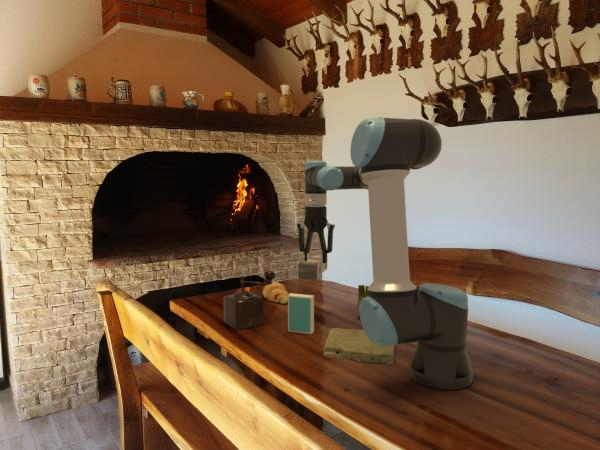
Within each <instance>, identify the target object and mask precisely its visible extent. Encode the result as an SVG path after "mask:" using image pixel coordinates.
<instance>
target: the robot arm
mask: <svg viewBox="0 0 600 450" xmlns="http://www.w3.org/2000/svg"><path fill="white" fill-rule="evenodd" d="M442 142H443V141H442V137H441V134H440V132H439V130H438V129H437V128H436V127H435V126H434V125H433V124H432V123H431V122H429V121H426V120H424V119H419V118H418V119H417V118H395V117H394V118H393V117H384V116H383V117H381V116H380V117H373V118H372V117H368V118H365V119H363V120H361V121H360V122H359V124H358V125H357V126H356V128H355V130H354V133H353V134H352V138H351V142H350V151H349V152H350V160H351V161H352V162H351V163H352V164H353V165H352V166H333V165H327V164H328V163H327V162H326V160H307V161H305V163H304V171H303V172H304V204H305V207H304V220H303V222H299V223H297V224H296V227H297V230H298V245H299V246H298V248H299V251H300V252H302V253H304V262H306V261H307V260H309V259H310V258H312V257H313V256H312V255H313V254H312V252H311V247H312V246H311V245H312V240H313V236H314V233H317V236H318V239H319V244H320V250H321V253H320V254H319V255H320V273H321V274H323V273H324V272H325V271H324V263H326V262H327V263H328V254H330V253H332V251H333V243H334V241H333V240H334V239H333V238H334V231H335V230H334V229H335V228H336V224H334V223H330V222H329V221H328V219H327V215H328V214H327V213H328V212H327V211H328V210H327V206H326V205H328V204H327V198H328V197H327V193H328V192H329V191H336V190H337V191H340V190H368V192H367V193H368V207H369V209H368V211H369V226H370V243H371V245H370V246H371V262H372V264H371V265H372V280H373V281H372V283H371V284H370V285H368V286H369V287H368V297H365V298H364V299H362V300H361V302H360V306H359V314H360V318H359V319H360V322H361V326H362V330H364V331H365V333H366V335H367V337H368V338H369V339H370V340H371V342H373V343H374V344H375V345H378V346H389V345H391V346H395V347H396V346H397V345H403V344H411V343H417V345H416V347H415V350H414V353H413V355H412V358H411V361H410V364H409V375H410V376H411V377H410V378H412V379H413V380H414V381H415V382H417V383H418V384H420V385H422V386H425V387H428V388H431V389H436V390H443V391H454V390H455V391H457V390H461V389H465V388H468V387H469V386H470V385H472V384H473V378H474V376H473V374H474V373H473V372H474V371H473V368H472V365H471V361H470V358H469V354H468V351H467V337H468V331H467V330H468V317H469V316H468V315H469V310H470V309H469V302H468V301H469V298H468V294H467V293H466V292H465V291H463V290H462V289H460V288H456V287H453V286H450V285H447V284H440V283H430V282H429V283H426V282H425V283H422V284H420V285H419V288H418V287H417V286H416V285H415V284H414V283H413V282H412V281H411V275H410V261H409V245H408V244H409V243H408V242H409V241H408V226H407V225H408V224H407V213H406V212H407V210H406V208H407V207H406V193H405V189H406V188H405V179H406V178H407V176H409V175H410V173H411V170H419V169H422V168H424V167H427V166H429V165H431V164H433V163H434V162H435V161H436V160H437V158H438V157H439V155H440V154H441V150H442ZM305 227H306V229H307V235H306V240H305ZM325 228H327V243H326V238H325V231H324V229H325Z"/></svg>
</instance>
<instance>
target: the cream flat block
mask: <svg viewBox="0 0 600 450" xmlns="http://www.w3.org/2000/svg"><path fill="white" fill-rule="evenodd" d="M288 294H289V295H288V302H287V332H290V333H291V332H292V333H300V334H308V335H312V334H314V332H315V295H314V294H301V293H288Z"/></svg>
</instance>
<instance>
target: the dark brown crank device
mask: <svg viewBox="0 0 600 450" xmlns="http://www.w3.org/2000/svg"><path fill="white" fill-rule="evenodd" d="M275 273H276V272H275V271H272V270H266V271H264V273H263V276H264V279H265V280H264V281H263V282H262V281H261V282H260V281H252V280H251V281H247V280H245V276H244V275H241V276H240V283H241V285H240V286H241V289H240V291H236V292H235V293H233V294H229V295H223V297H222V300H223V301H222V302H223V303H222V304H223V305H222V306H223V323H225V324H226V325H227V324H228V325H227V326H229V327H230V326H231V327H230V328H232V329H234V330H235V331H241V329H242V330H245V329H250V328H254V327H258V326H261V325H263V324H265V322H264V298H263V296H260V295H257V294H256V293H253V292H250V291H249V290H245V284H246V285H247V284H249V285H260V286H266V285H269V284H272V281H273V280H274V279H275V278H276V274H275Z"/></svg>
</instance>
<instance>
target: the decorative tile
mask: <svg viewBox="0 0 600 450" xmlns="http://www.w3.org/2000/svg"><path fill="white" fill-rule="evenodd" d="M395 347H396V346H391V345H389V346H378V345H375V344H374V343H373V342H371V340H370V339H369V338H368V337H367V335H366V333H365V331H364V329H356V328H355V329H353V328H350V329H349V328H347V329H346V328H340V327H333V328H331V329H329V332H328V335H327V337H326V341H325V344H324V348H323V357H324V358H327V359H330V358H332V359H336V358H338V359H345V360H352V361H356V362H361V363H362V362H365V363H376V364H378V363H379V364H389V365H394V364H395V355H396V354H395V352H396V351H395V349H396V348H395Z"/></svg>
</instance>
